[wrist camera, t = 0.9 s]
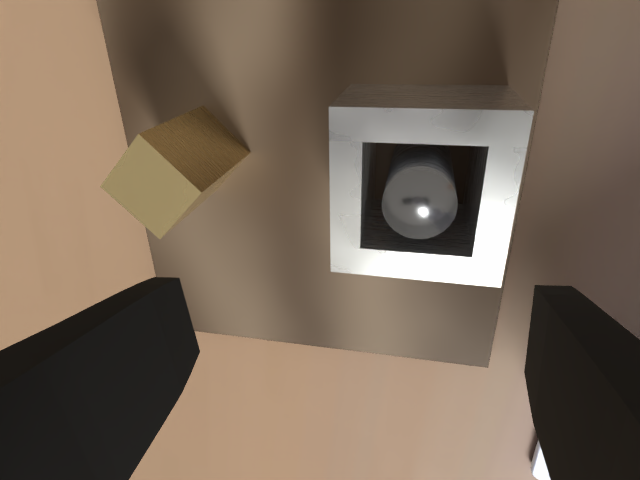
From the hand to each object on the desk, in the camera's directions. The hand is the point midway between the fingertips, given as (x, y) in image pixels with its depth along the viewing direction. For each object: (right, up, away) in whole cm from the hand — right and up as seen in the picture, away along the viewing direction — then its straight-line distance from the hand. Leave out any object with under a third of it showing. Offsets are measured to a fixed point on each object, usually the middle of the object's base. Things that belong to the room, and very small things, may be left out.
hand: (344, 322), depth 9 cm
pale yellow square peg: (-5, +5, +8) cm, 11 cm away
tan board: (-1, +5, +8) cm, 10 cm away
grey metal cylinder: (+3, +4, +7) cm, 9 cm away
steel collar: (+3, +4, +7) cm, 9 cm away
